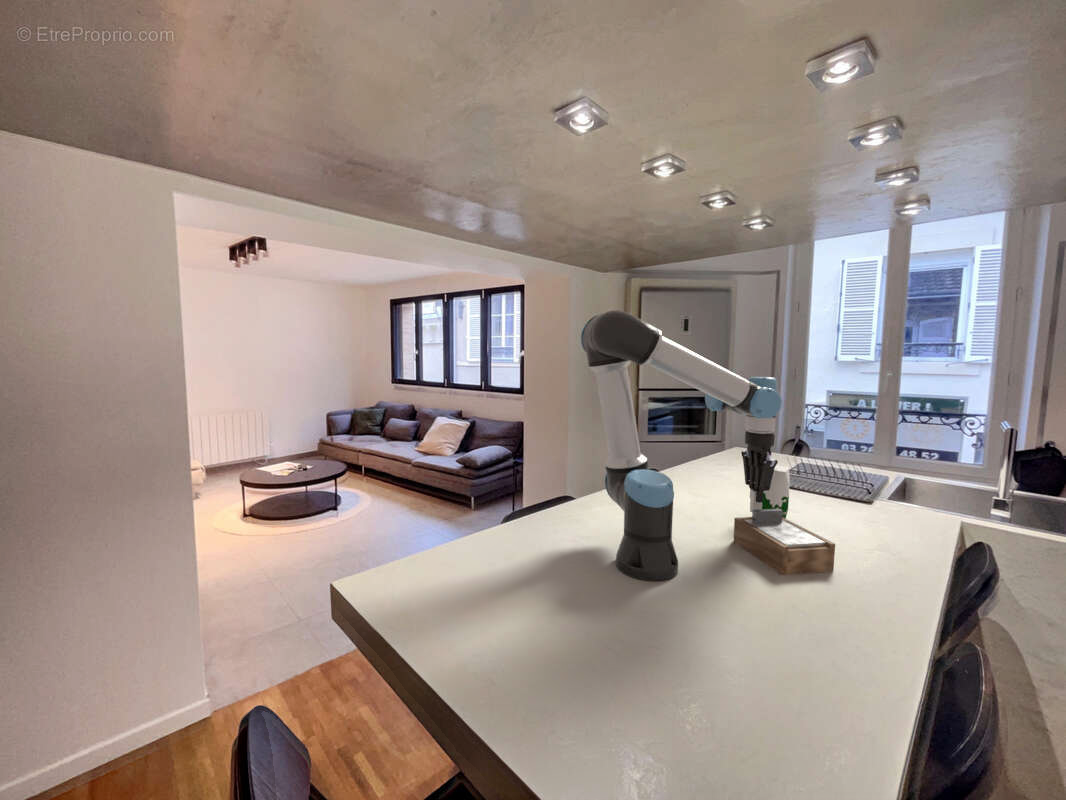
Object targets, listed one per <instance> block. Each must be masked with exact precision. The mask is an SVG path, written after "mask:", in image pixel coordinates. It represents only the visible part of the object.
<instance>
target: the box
mask: <svg viewBox="0 0 1066 800" xmlns="http://www.w3.org/2000/svg"><path fill="white" fill-rule="evenodd" d="M749 519H752V516H745V517H744V516H743V517H734V520H733V521H734V522H733V523H734V525H733V543H735V544H736V545H738V546H739V547H740V548H743V549H744V550H745V551H747V552H749V553H750V554H751V555H753V556H754V557H755V558H757V559H758V560H760V561H761V562H763V564H766V565H767V566H768V567H769V568H771V569H772V570H774V571H775V572H777V573H779V574H780V575H781V576H785V575H798V574H799V575H800V574H812V573H813V574H814V573H826V572H828V573H829V572H834V567H835V554H836V553H835V552H836V551H835V550H836V543H834V542H832V541H830V540H828V539H827V538H824V537H823V536H820V535H819V534H816V533H815V532H813V531H810V530H809V529H807V528H804V527H803V526H800V525H798V524H797V523H795V522H793V521H790V520H789V519H787V518H786V519H785V518H783V517H782V520H783V521H785V522H787V523H789V524H791V525H793V526H795V527H797V528H799V529H801V530H803V531H805V532H807V533H809V534H811V535H812V536H814V537H816V538H818V539H820V540H822V541H824V542H826V544H825V546H819V547H803V548H788V546H786V545H784V544H783V543H781V542H779V541H777V540H776V539H774V538H772V537H771V536H769V535H767V534H766V533H764V532H762V531H760V530H759V529H757V528H755V527H754V526H752V525H750V524H749V523H747V522H745V521H744V520H749Z"/></svg>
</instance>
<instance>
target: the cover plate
mask: <svg viewBox="0 0 1066 800" xmlns="http://www.w3.org/2000/svg"><path fill="white" fill-rule="evenodd" d="M751 513H752V514H751V515H752V516H751V517H752V519H749V520H744V521H745V522H747V523H749V524H750V525H752V526H754V527H755V528H757V529H759V530H760V531H762V532H764V533H766V534H767V535H769V536H771V537H772V538H774V539H776V540H777V541H779V542H781V543H783V544H784V545H786V546H788V548H803V547H819V546H825V544H826V542H824V541H822V540H820V539H818V538H816V537H814V536H812V535H811V534H809V533H807V532H805V531H803V530H801V529H799V528H797V527H795V526H793V525H791V524H789V523H787V522H785V521H783V520H782V514H783V510H781V509H760V510H753V512H751Z"/></svg>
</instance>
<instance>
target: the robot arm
mask: <svg viewBox="0 0 1066 800" xmlns="http://www.w3.org/2000/svg"><path fill="white" fill-rule="evenodd" d="M580 342H581V343H580V344H581V347H582V349H583V351H584V352H585V353H586V357H587V363H588V368H589V369H590V370H591V371H592V372H594V374H595V377H596V378H595V379H596V382H597V384H596V385H597V388H598V394H599V395H598V396H599V397H598V398H599V402H600V407H601V408H600V409H601V414H602V421H603V426H604V432H605V439H606V444H607V451H608V456H609V457H608V458H607V460H606V461H605V464H604V466H605V471H606V472H605V475H604V487H605V490H606V492H607V495H608V496H609V497H610V499H611V500H612V501H613V502H614V503H615V504H616V505H617V506H619V507H620V508H621V510H622V511H623V515H624V516H623V535H622V538H621V540H620V544H619V546H618V549H617V552H616V554H615V565H616V567H617V569H618V570H619V571H620V572H622V573H623V574H624V575H626V576H629V577H631V578H634V579H638V580H643V581H651V582H654V581H655V582H659V581H660V582H661V581H667V580H670V579H672V578H674V577H675V576H677V575H678V573H679V559H678V556H677V553H676V549H675V547H674V546H675V545H674V543H673V536H672V535H673V513H674V498H675V492H674V484H673V481H672V479H671V478H670V477H669V476H668V475H666V474H665V473H663V472H660V471H658V472H657V470H652V469H650V468H649V461H648V457H647V456H646V455H644V454H643V453H642V452H641V448H640V447H641V446H640V441H639V440H640V439H639V434H638V426H637V420H636V415H635V409H634V408H635V407H634V403H633V395H632V390H631V389H632V388H631V383H630V375H629V370H628V368H629V366H630V364H631V363H635V364H637V365H639V366H644V365H648V366H650V367H652V368H655V369H656V370H657V371H660V372H663V373H664V374H666V375H668V376H670V377H672V378H674V379H676V380H678V381H680V382H682V383H685V384H686V385H688V386H691V388H694V389H696V390H698V391H700V392H702V393H704V394H705V395H704V401H705V405H706V407H707V408H708V410H710V411H712V412H714V411H715V412H717V411H718V412H731V413H733V414H734V413H735V414H739V415H744V416H745V428H744V429H746V431H745V432H744V444H745V445H747V447H746V450H742V451H741V453H740V454H741V458H742V461H743V462H742V463H743V472H744V481H745V482H744V483H745V485H747V486H748V487H749V489H750V490H749V491H750V492H749V493H750V494H749V499H750V502H749V512H750V513H752V512H753V510H760V509H762V502H763V492H764V491H769V489H770V485H771V481H772V477H773V473H774V469H775V466H776V465H777V464H778V463H779V462H778V461H779V460H777V459H775V458H773V457H772V449H771V448H772V447H773V446H775V438H776V437H775V436H776V434H775V433H774V432H775V430H776V417H777V414H779V412H780V411H781V408H782V405H783V404H782V397H781V394H780V393H779V392H778V380H777V378H775V377H773V376H751V377H748V379H746V378H744V377H741V375H739V374H736V373H734V372H732V371H731V370H728V369H727V368H724V367H723V366H721V365H720V364H717V363H716V362H713V361H712V360H709V359H707V358H705V357H703V356H702V355H699V354H698V353H695V352H694V351H692V350H690V349H688V348H687V347H684V346H683V345H680V344H678V343H677V342H675V341H673V340H671V339H669V338H667V337H665V336H663V334H662V330H660V329H659V328H657V326H654V325H651V324H649V323H648V322H646V321H644V320H643V319H641V318H639V317H637V316H635V315H633V314H631V313H629V312H627V311H623V310H617V309H614V310H609V311H606V312H604V313H600V314H597V315H594V316H593V317H592V318H590V319H589V320H587V322H586V323H585V324H584V326H583V327H582V330H581V333H580Z"/></svg>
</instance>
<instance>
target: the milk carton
mask: <svg viewBox="0 0 1066 800" xmlns="http://www.w3.org/2000/svg"><path fill="white" fill-rule="evenodd" d="M790 477H791V476H790V466H781V465H779V464H778V465H776V466H775V469H774V473H773V477H772V481H771V485H770V489H769V491H764V492H763V502H762V509H781V510H783V514H782V517H783V518H785V519H787V516H788V511H789V502H790V501H789V500H790V483H791V478H790Z"/></svg>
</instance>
